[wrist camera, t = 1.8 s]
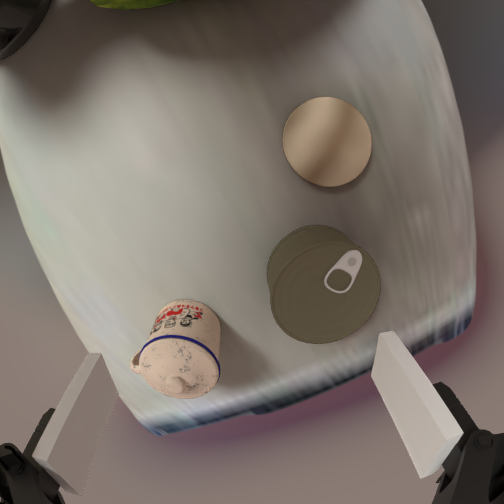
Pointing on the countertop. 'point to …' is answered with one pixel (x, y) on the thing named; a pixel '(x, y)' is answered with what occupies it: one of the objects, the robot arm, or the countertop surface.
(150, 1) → the lettuce
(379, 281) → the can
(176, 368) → the teacup with lid
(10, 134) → the countertop surface
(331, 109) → the beech coaster
